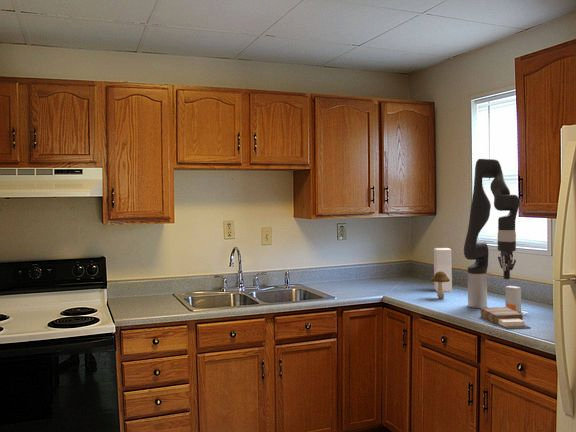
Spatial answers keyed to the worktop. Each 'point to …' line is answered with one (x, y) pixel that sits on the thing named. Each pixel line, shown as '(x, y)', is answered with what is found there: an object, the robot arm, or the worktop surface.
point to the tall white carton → (443, 267)
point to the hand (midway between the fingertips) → (506, 279)
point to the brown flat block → (499, 314)
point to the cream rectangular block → (511, 322)
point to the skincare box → (513, 298)
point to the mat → (517, 327)
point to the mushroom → (440, 282)
